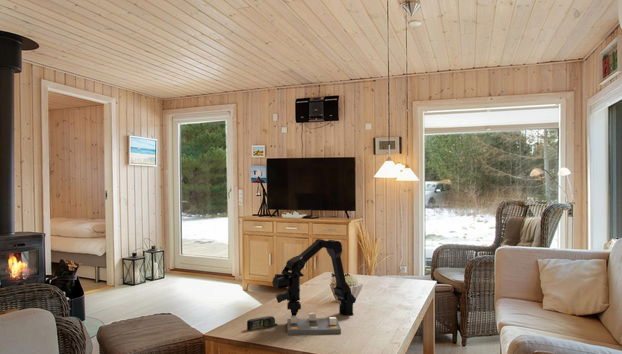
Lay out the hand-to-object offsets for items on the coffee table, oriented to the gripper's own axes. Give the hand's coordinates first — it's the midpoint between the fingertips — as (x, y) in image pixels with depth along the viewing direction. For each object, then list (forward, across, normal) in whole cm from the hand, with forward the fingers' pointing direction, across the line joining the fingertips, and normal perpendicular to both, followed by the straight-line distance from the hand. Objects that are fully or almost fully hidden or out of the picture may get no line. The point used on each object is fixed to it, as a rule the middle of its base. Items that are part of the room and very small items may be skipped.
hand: (293, 319), depth 204 cm
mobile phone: (+4, +2, -15) cm, 15 cm away
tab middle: (+1, -1, +9) cm, 9 cm away
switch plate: (+3, +4, +9) cm, 10 cm away
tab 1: (+1, +3, 0) cm, 3 cm away
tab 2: (+1, +6, +18) cm, 19 cm away
